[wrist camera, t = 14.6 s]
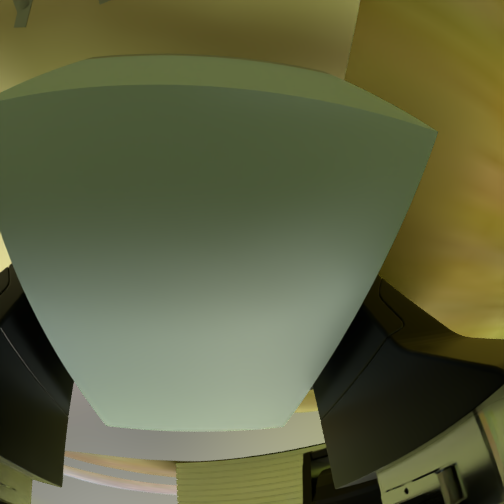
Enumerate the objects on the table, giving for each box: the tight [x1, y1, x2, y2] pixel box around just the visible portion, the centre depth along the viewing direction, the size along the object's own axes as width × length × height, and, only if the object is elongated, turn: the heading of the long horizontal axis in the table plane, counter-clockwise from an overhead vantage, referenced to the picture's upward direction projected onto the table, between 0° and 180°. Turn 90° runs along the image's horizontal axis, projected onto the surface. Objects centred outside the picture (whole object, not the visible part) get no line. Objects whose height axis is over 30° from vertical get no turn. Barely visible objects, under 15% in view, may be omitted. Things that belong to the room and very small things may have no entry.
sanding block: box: [0, 54, 438, 431], centre depth 7 cm, size 9×6×4 cm, turn 172°
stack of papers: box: [176, 443, 326, 504], centre depth 37 cm, size 32×11×11 cm, turn 100°
